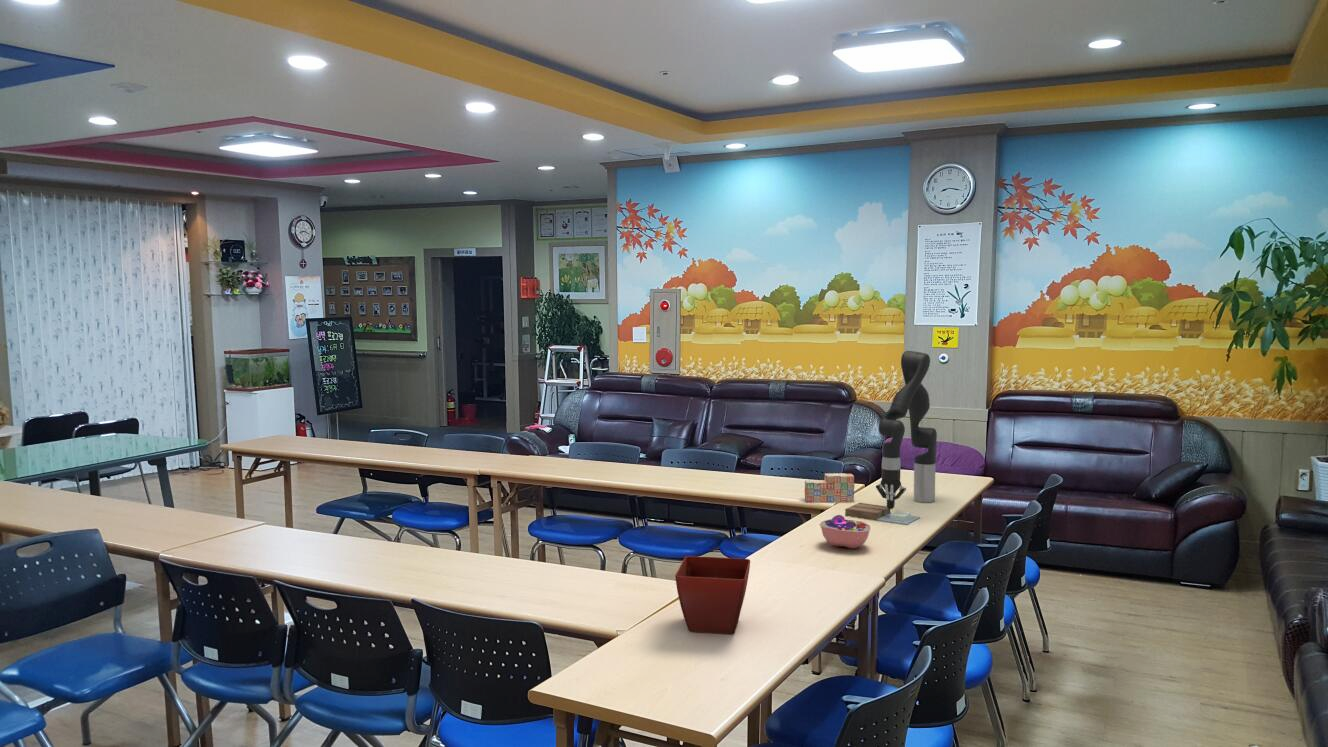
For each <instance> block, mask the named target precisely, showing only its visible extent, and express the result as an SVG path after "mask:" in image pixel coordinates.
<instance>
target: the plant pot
mask: <svg viewBox="0 0 1328 747" xmlns="http://www.w3.org/2000/svg"><path fill="white" fill-rule="evenodd" d="M750 566H751V559H749V558H736V557H735V558H734V557H716V556H715V557H714V556H696V555H686V556H684V558H683V560H682V562H681V564H680V566H679V567H678V569H677V571H676V573H675V584H676V591H677V595H678V601H679V604H680V609H681V612H682V615H683V618H684V622H685V625H686V627H687V630H688V631H689V632H690V633H691V632H693V633H708V634H720V635H721V634H724V635H734V634H735V633H736V630H737V627H738V623H739V620H740V615H741V611H742V607H743V605H744V601H745V596H746V591H747V585H748V580H749V575H750V569H751V568H750Z"/></svg>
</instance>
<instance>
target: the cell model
mask: <svg viewBox="0 0 1328 747" xmlns="http://www.w3.org/2000/svg"><path fill="white" fill-rule="evenodd" d="M819 527H820V529H821V534H822V536H823V538H824V539H825V540H826V542H827V543H828V544H829V545H832V546H834V547H840V548H841V547H842V548H843V547H844V548H848V549H856V548H859V547H861V546H863V545H865V543H866V542H867V540H868V538H869V535H870V531H871V525H870V524H868V523H866V522H864V521H858V520H853V519H846V518H845V516H843V515H841V514H836V515H834V516H833V517H832V518H831V519H826V520H822V521H821V522H820V523H819Z"/></svg>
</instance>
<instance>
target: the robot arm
mask: <svg viewBox="0 0 1328 747" xmlns="http://www.w3.org/2000/svg"><path fill="white" fill-rule="evenodd" d="M900 358H901V359H900V362H901V363H900V365H901V366H900V367H901V371H902V376H903V380H904V386H902V388H900V389H899V390H898V391H897V392H896V394H895V395H894V397H893V400H892V401H891V404H890V408H889V409H888V410H887V412H886V413H885V414H884V416H883V417H882V418H881V419H880V421H879V424H878V432H879V434H880V435H881V436H884V437H890V438H891V440H890V441H887V442H883V445H882V459H881V481H880V483H879V484H877V485H875V488H876V490H877V491H878V493H879V495H880V496H881V497H882V499H885V500H886V506H887V507H888V509H890V510H893V509H894V508H895V506H896V505H895V504H896V503H895V501H896V500H898V499H900V498H901V497H902V495H903V494H904V493H905V492H906V491H907V487H904V486H903V485H902V482H901V467H902V466H901V464H902V463H901V446H902V442H903V440H904V439H903V438H904V436H905V431H906V427H905V425H904V422H903V421H901V420H898V419H903V418H905V417H906V415H907V414H909V422H910V426H909V427H910V440H911V445H912V446H913V447H914V448H917V449H918V448H919V449H927V451H926V452H925V453H924V452H923V453H921V454H917V455H915V456H914V459H913V464H914V465H913V469H914V470H913V501H914V502H918V503H934V502H935V501H936V464H937V463H936V459H937V458H936V456H937V455H936V454H937V439H938V434H937V430H936V428H934V427H922V426H919V425H920V423H921V421H922V420H923V418H924V417H925V416H926V415H927V413H928V412H929V409H930V405H931V403H930V396H929V392H928V390H927V389H926V386H924V384H922V382H923V380H924V379H925V377H926V374H927V373H928V371H929V369H930V368H929V367H930V364H931V358H930V355H929V354H928V353H925V352H919V351H914V350H906V351H904V352H902V355H901V357H900ZM897 492H898V493H897Z"/></svg>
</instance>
